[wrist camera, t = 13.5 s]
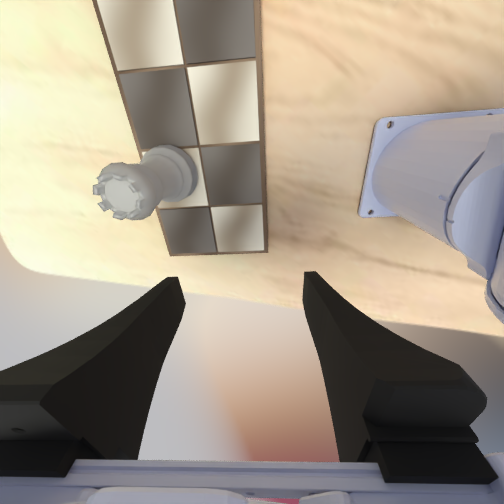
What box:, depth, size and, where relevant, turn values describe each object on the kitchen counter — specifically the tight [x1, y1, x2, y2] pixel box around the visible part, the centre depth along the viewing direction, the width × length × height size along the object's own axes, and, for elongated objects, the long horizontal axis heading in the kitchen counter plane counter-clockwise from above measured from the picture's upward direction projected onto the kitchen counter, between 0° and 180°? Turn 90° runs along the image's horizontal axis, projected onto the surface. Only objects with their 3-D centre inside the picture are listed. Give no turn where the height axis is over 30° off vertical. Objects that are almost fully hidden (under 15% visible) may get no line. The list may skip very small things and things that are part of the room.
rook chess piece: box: [93, 145, 198, 220], centre depth 14 cm, size 4×4×8 cm
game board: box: [92, 0, 268, 256], centre depth 17 cm, size 11×21×1 cm, turn 4°
